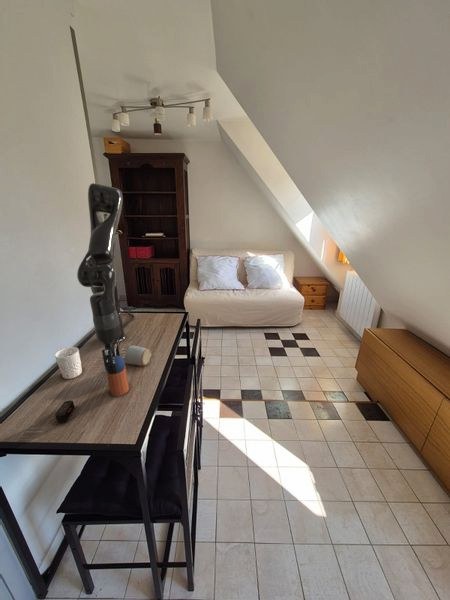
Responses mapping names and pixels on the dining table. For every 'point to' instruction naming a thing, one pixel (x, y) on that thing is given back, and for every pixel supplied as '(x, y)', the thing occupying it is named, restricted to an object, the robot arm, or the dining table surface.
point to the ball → (118, 364)
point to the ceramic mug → (137, 355)
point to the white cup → (69, 362)
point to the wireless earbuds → (65, 411)
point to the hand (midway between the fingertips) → (115, 366)
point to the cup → (118, 383)
